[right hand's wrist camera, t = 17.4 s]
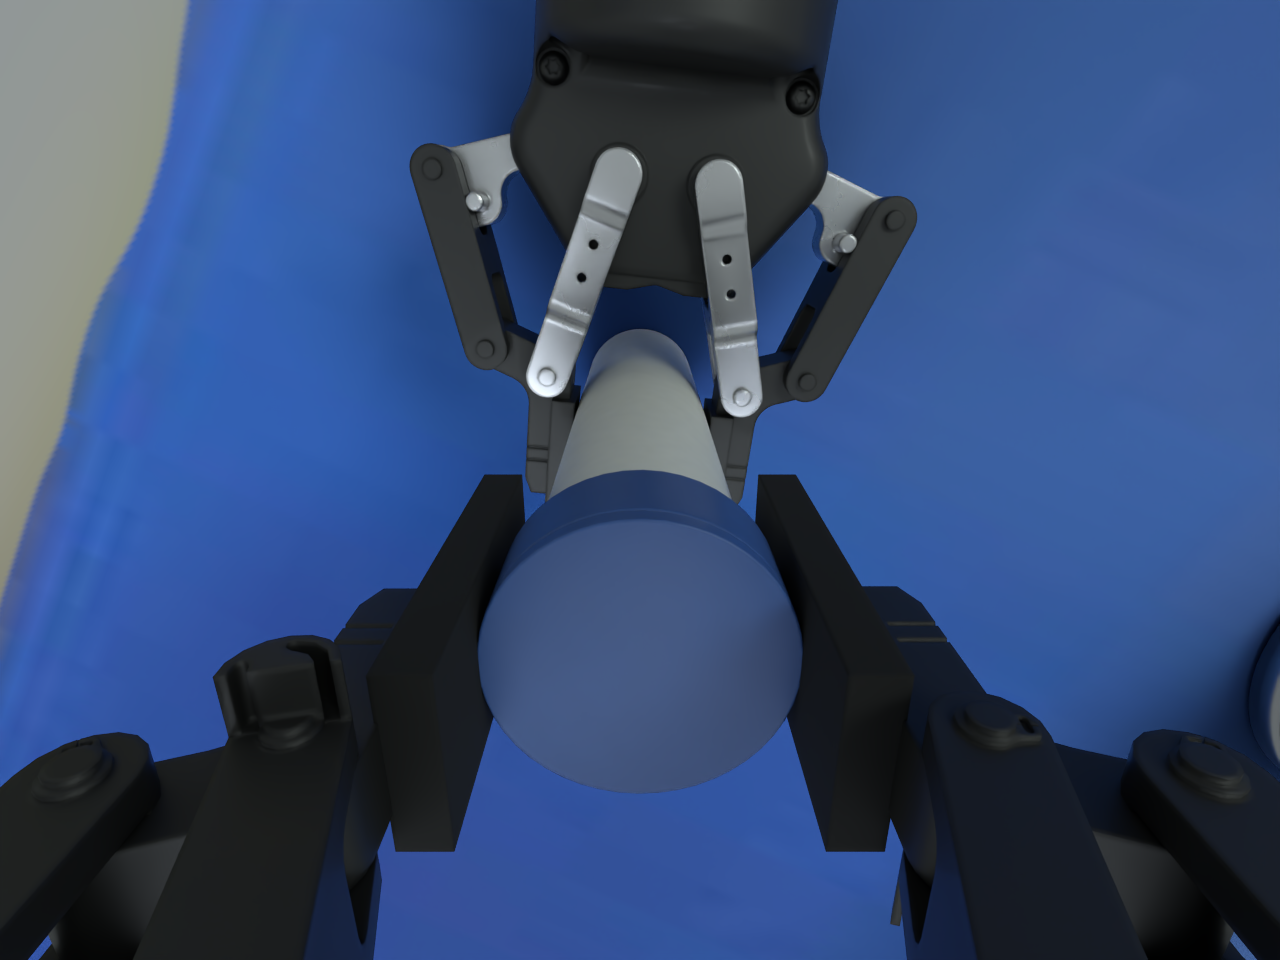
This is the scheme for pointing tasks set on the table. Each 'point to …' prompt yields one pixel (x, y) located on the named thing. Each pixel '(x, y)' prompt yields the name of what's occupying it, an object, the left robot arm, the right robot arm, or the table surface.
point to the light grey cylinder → (640, 416)
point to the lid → (640, 635)
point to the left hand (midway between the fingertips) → (630, 507)
